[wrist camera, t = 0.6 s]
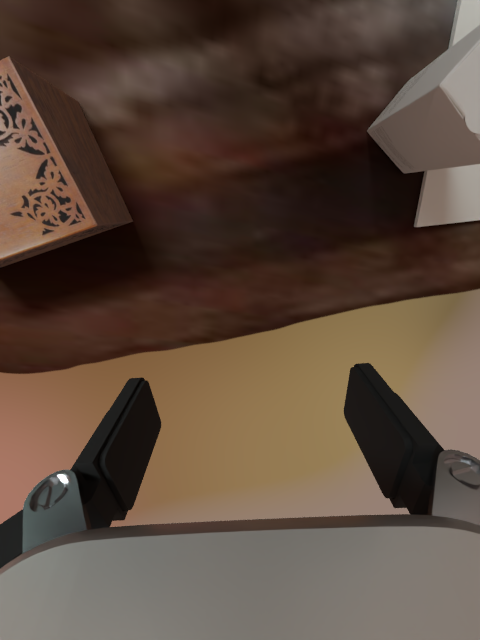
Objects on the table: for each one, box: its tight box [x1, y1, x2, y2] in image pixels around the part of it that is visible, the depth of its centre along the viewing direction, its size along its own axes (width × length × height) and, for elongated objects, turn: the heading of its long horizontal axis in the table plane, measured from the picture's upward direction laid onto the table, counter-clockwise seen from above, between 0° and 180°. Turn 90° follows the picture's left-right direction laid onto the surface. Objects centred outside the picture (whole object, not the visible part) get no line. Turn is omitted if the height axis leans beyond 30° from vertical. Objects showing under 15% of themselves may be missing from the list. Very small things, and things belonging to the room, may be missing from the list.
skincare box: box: [367, 25, 480, 174], centre depth 23 cm, size 8×7×16 cm
